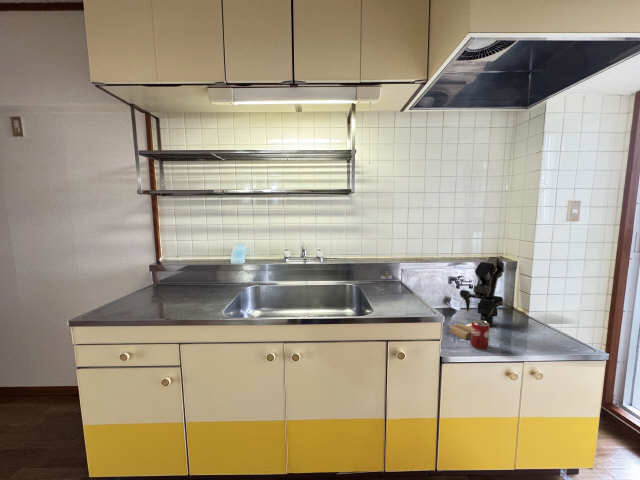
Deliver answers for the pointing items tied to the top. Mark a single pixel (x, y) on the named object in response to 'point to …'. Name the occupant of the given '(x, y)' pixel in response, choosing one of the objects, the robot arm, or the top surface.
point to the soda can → (479, 334)
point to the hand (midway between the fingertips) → (477, 313)
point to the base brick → (461, 331)
